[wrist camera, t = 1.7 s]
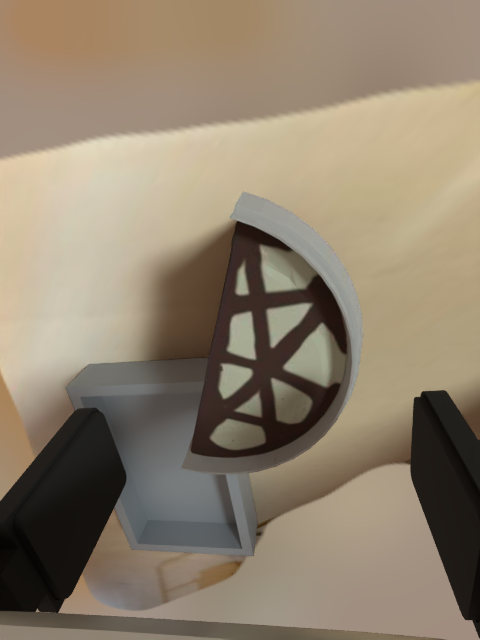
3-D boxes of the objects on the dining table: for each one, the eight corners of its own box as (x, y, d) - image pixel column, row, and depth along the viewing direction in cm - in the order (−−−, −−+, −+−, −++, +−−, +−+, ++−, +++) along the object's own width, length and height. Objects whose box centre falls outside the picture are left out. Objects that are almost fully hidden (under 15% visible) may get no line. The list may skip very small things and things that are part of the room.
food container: (308, 385, 25) (312, 514, 16) (222, 362, 25) (179, 476, 16) (373, 203, 20) (435, 247, 11) (263, 177, 20) (233, 197, 11)
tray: (226, 356, 25) (217, 380, 22) (257, 521, 32) (253, 556, 29) (88, 364, 27) (65, 387, 24) (145, 517, 34) (131, 549, 31)
